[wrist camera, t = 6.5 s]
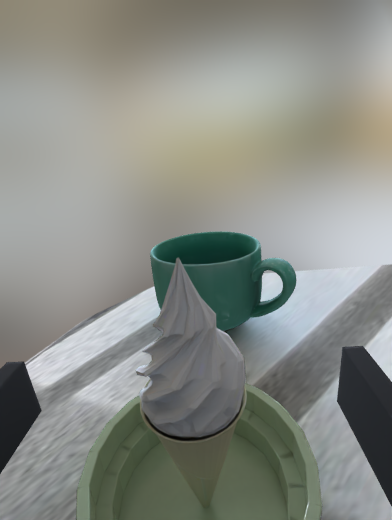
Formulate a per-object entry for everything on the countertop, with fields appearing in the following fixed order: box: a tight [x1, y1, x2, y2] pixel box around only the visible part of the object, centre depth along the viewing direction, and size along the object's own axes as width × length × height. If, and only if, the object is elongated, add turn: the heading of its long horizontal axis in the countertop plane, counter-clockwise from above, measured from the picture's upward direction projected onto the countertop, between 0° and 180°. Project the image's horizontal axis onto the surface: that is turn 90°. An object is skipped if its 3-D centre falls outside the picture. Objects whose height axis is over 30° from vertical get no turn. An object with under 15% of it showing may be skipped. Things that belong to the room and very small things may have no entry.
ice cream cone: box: [136, 257, 247, 508], centre depth 14 cm, size 5×5×15 cm
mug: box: [150, 232, 296, 331], centre depth 33 cm, size 17×13×10 cm
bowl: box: [76, 383, 322, 520], centre depth 16 cm, size 12×12×4 cm
